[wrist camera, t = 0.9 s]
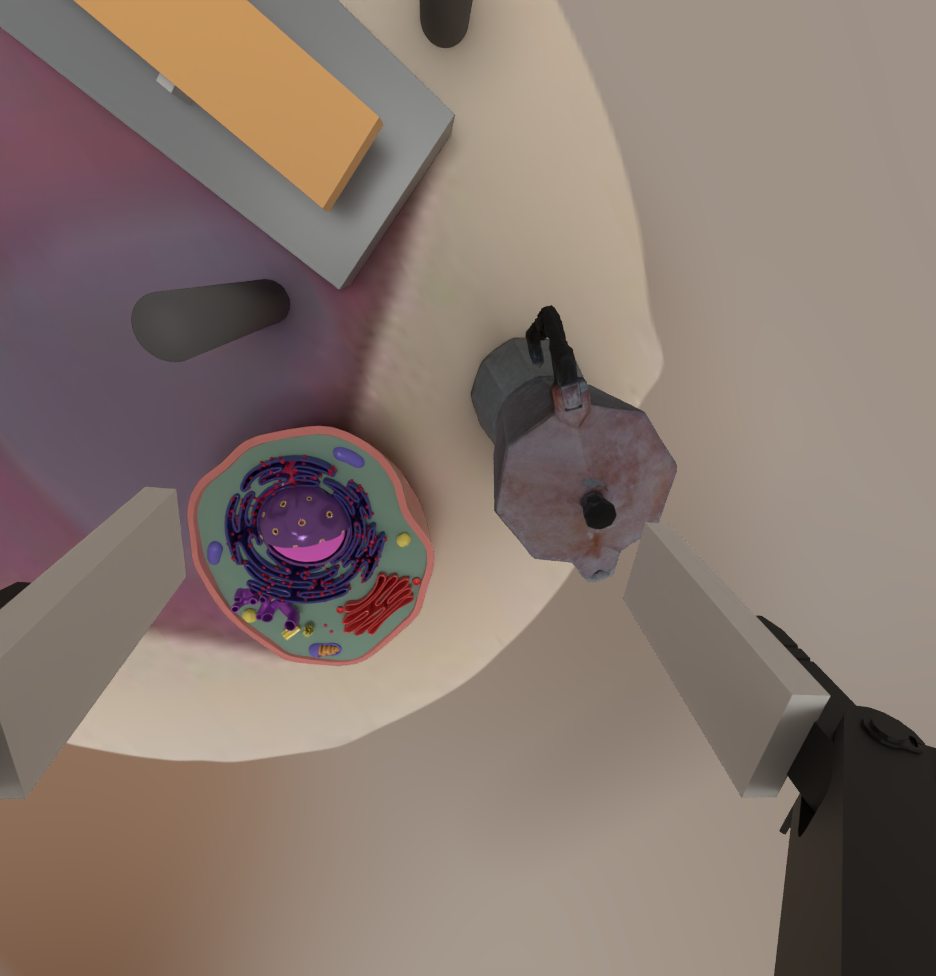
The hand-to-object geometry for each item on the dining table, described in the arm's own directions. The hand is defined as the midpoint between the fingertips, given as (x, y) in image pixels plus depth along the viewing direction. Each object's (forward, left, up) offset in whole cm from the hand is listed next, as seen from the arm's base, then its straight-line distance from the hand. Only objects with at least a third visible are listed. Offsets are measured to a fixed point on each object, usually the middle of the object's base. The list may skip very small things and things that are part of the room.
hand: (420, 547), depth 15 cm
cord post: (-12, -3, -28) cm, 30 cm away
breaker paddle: (-20, +7, -20) cm, 29 cm away
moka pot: (+7, +3, -28) cm, 29 cm away
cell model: (+1, -15, -28) cm, 32 cm away
